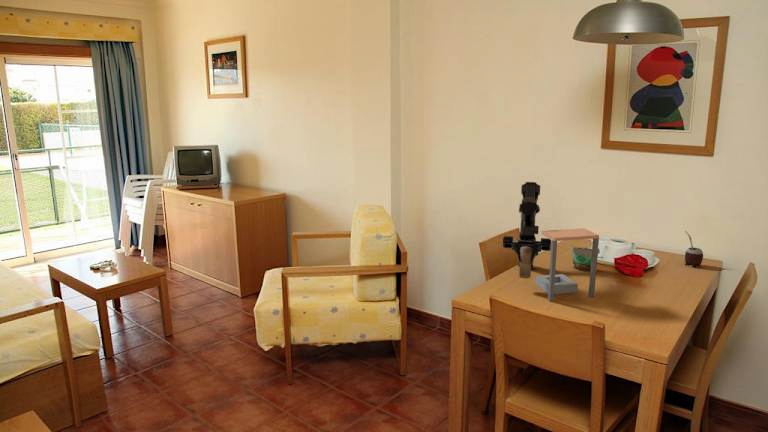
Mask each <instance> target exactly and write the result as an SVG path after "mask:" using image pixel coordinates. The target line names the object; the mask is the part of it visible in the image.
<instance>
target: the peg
mask: <svg viewBox="0 0 768 432" xmlns="http://www.w3.org/2000/svg"><path fill="white" fill-rule="evenodd" d="M531 258H532V248H531V247H528V246H523V247H521V249H520V262H519V264H520V267H519V270H518V271H519V274H518V276H519V278H521V279H530V278H531V274H532V273H531V272H532V269H531Z"/></svg>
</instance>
